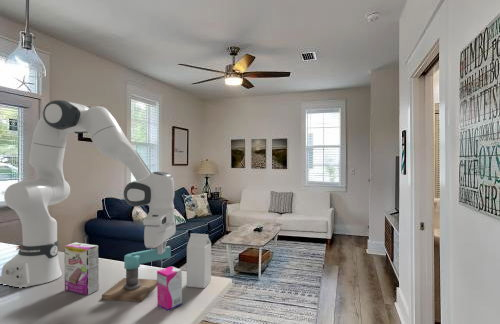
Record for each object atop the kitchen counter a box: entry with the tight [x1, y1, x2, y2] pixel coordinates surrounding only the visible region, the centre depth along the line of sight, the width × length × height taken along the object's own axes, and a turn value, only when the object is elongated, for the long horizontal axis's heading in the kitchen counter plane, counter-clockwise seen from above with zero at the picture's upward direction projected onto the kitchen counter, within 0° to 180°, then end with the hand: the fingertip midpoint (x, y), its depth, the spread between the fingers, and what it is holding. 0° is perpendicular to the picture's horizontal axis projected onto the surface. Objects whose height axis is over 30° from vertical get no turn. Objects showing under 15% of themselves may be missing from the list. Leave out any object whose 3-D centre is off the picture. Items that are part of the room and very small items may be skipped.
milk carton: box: [186, 233, 212, 289], centre depth 113 cm, size 7×7×19 cm
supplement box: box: [156, 266, 183, 312], centre depth 96 cm, size 6×6×12 cm
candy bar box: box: [63, 241, 99, 296], centre depth 106 cm, size 11×5×16 cm, turn 71°
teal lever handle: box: [123, 245, 172, 270], centre depth 109 cm, size 17×5×5 cm, turn 127°
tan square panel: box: [101, 267, 157, 303], centre depth 106 cm, size 14×14×9 cm
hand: (161, 253), depth 110 cm, fingers closed
